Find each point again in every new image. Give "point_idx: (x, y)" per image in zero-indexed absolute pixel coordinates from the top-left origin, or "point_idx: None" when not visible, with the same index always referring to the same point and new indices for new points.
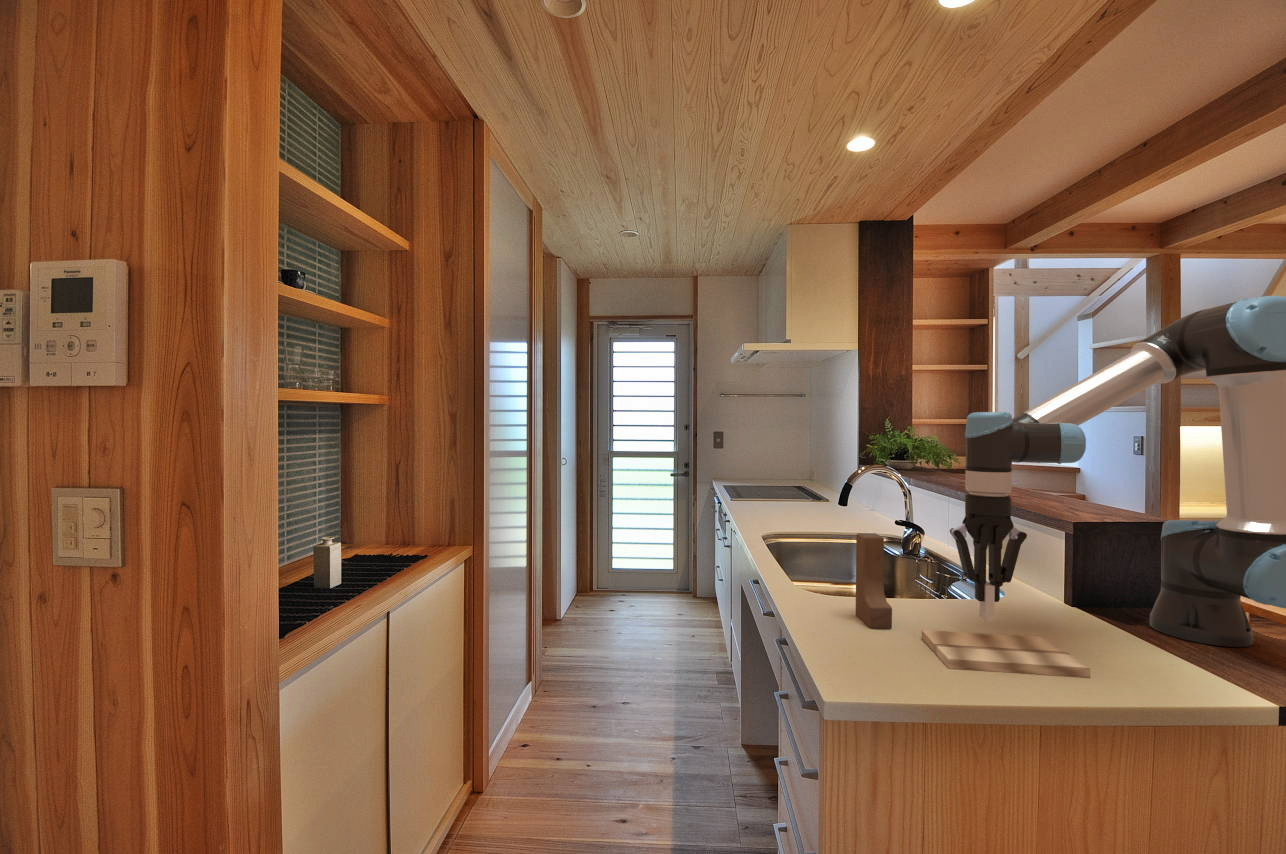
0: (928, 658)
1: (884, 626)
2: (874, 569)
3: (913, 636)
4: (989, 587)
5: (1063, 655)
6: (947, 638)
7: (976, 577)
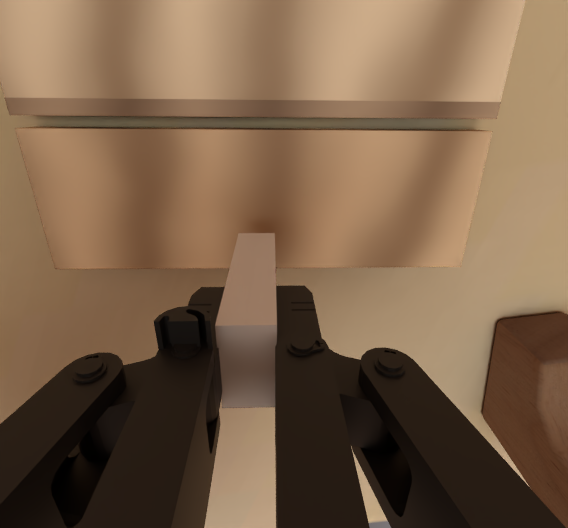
0: (529, 61)
1: (526, 319)
2: None
3: (461, 271)
4: (252, 319)
5: (32, 78)
6: (411, 197)
7: (344, 384)
